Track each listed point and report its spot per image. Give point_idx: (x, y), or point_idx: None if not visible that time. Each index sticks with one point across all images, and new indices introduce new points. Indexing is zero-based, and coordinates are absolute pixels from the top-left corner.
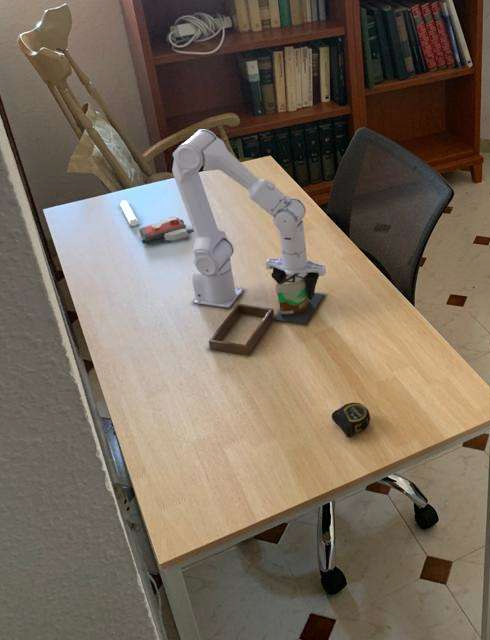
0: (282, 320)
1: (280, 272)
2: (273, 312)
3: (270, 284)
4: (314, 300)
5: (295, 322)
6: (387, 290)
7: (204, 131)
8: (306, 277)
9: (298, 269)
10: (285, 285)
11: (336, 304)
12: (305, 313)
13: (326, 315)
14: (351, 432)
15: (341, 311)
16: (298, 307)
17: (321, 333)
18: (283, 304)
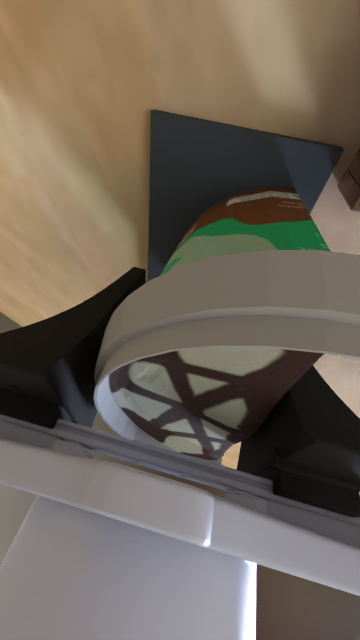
0: (292, 141)
1: (291, 462)
2: (349, 191)
3: (323, 370)
4: None
5: (211, 122)
6: (11, 316)
7: None
8: (44, 389)
9: (58, 507)
10: (234, 329)
11: (93, 271)
12: (177, 214)
13: (93, 207)
14: None
15: (56, 233)
16: (197, 225)
17: (29, 5)
18: (280, 214)
